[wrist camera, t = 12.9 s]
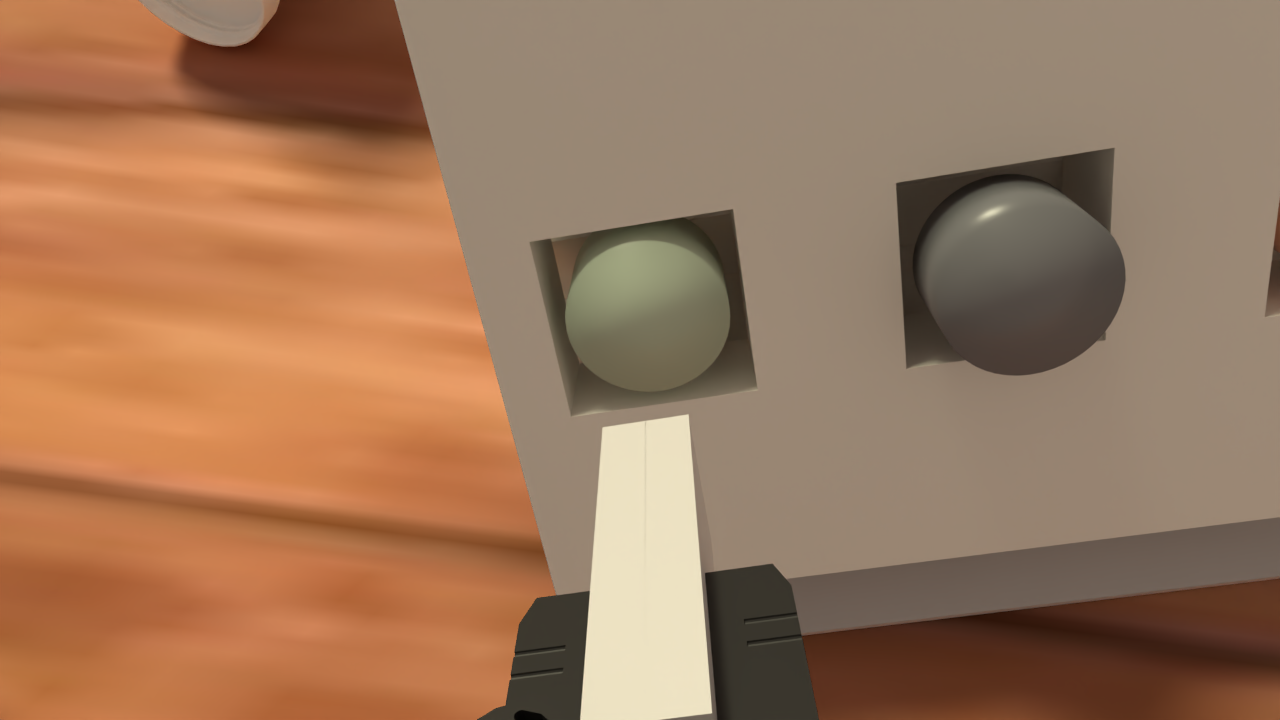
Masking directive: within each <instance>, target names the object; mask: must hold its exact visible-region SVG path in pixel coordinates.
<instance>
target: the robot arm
mask: <svg viewBox="0 0 1280 720" xmlns="http://www.w3.org/2000/svg"><path fill="white" fill-rule="evenodd" d="M477 720H819V718H818V713H817V708H816V703H815V698H814V693H813V688H812V684H811V679H810V674H809V669H808V664H807V659H806V654H805V649H804V644H803V640H802V635H801V629H800V625H799V620H798V616H797V610H796V605H795V600H794V595H793V590H792V585H791V584H790V583H789V582H788V581H787V579H786V578H785V577H784V576H783V575H782V574H781V573H780V572H779V570H778V569H777V568H776V567H775V566H774V565H773V564H765V565H758V566H751V567H744V568H736V569H729V570H722V571H714V563H713V553H712V543H711V537H710V531H709V525H708V520H707V514H706V509H705V503H704V498H703V492H702V486H701V481H700V475H699V470H698V464H697V459H696V453H695V447H694V442H693V436H692V431H691V425H690V420H689V414H688V415H681V416H675V417H668V418H661V419H655V420H648V421H641V422H635V423H628V424H622V425H615V426H608V427H603V429H602V442H601V455H600V468H599V481H598V494H597V507H596V520H595V533H594V546H593V559H592V572H591V585H590V591H585V592H578V593H570V594H563V595H556V596H548V597H541V598H537V599H536V600H535V601H534V603H533V604H532V606H531V607H530V609H529V610H528V612H527V613H526V615H525V616H524V618H523V619H522V621H521V622H520V624H519V628H518V634H517V640H516V646H515V657H514V658H513V664H512V670H511V680H510V682H509V688H508V694H507V700H506V706H502V707H499V708H496V709H494V710H492V711H491V712H489V713H487V714H486V715H484V716H482V717H481V718H479V719H477Z"/></svg>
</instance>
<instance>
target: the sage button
mask: <svg viewBox="0 0 1280 720" xmlns="http://www.w3.org/2000/svg"><path fill="white" fill-rule="evenodd" d="M565 323H566V329H567V334H568V337H569V340H570V343H571V345H572V347H573V349H574V351H575V353H576V354H577V356H578V357H579V359H580V360H581V361H582V362H583V363H584V365H585V366H586V367H587V368H588V369H589V370H591V371H592V372H593V373H594V374H595V375H597V376H598V377H600V378H601V379H603V380H605V381H607V382H608V383H610V384H613V385H615V386H618V387H620V388H624V389H628V390H633V391H640V392H654V391H663V390H668V389H672V388H675V387H678V386H681V385H683V384H685V383H688V382H690V381H691V380H693V379H695V378H696V377H698V376H699V375H701V374H702V373H703V372H704V371H705V370H707V369H708V368H709V367H710V365H711V364H712V363H713V362H714V361H715V360H716V358H717V357H718V355H719V354H720V352H721V350H722V348H723V347H724V344H725V342H726V339H727V336H728V332H729V327H730V306H729V300H728V294H727V288H726V282H725V276H724V270H723V265H722V261H721V258H720V255H719V253H718V251H717V249H716V247H715V245H714V243H713V242H712V241H711V239H710V238H709V237H708V235H707V234H706V233H705V232H704V231H703V230H702V229H701V228H699V227H698V226H697V225H696V224H694V223H693V222H691V221H690V220H688V219H686V218H684V217H681V218H675V219H669V220H662V221H656V222H650V223H644V224H637V225H631V226H625V227H619V228H613V229H606V230H600V231H594V232H592V233H591V234H590V235H589V237H588V238H587V239H586V240H585V242H584V243H583V245H582V247H581V248H580V251H579V253H578V255H577V258H576V261H575V265H574V269H573V274H572V279H571V284H570V288H569V293H568V298H567V303H566V310H565Z"/></svg>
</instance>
